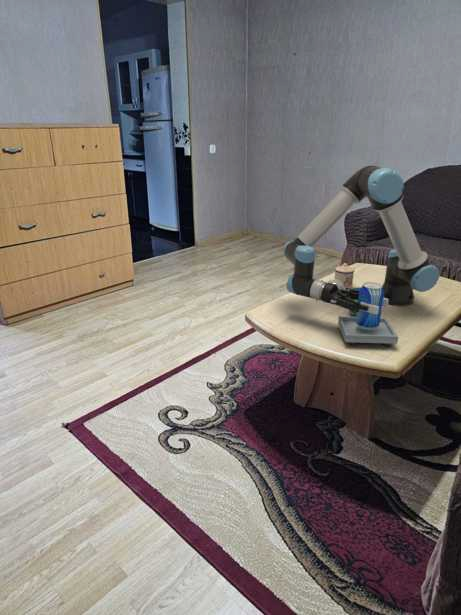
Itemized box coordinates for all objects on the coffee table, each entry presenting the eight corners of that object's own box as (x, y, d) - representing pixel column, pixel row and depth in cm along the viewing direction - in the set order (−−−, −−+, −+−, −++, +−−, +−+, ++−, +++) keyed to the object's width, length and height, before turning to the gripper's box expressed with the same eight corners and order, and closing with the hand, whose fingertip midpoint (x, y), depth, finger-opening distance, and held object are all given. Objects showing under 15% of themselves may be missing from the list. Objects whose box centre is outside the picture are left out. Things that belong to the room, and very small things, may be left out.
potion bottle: (341, 306, 193) (314, 300, 204) (352, 289, 196) (324, 285, 207) (334, 293, 187) (306, 287, 198) (345, 276, 191) (317, 272, 201)
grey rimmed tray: (384, 329, 168) (386, 317, 166) (396, 349, 154) (398, 336, 152) (337, 328, 170) (338, 316, 167) (344, 347, 155) (346, 335, 153)
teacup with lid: (344, 291, 206) (347, 267, 202) (329, 286, 212) (331, 263, 208) (359, 285, 213) (362, 262, 209) (344, 280, 220) (346, 258, 215)
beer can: (351, 321, 163) (356, 281, 157) (373, 320, 164) (379, 280, 157) (359, 331, 155) (365, 289, 149) (382, 330, 156) (389, 289, 150)
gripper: (336, 293, 175) (392, 307, 162) (310, 309, 160) (369, 326, 147) (338, 275, 172) (395, 288, 159) (312, 290, 157) (372, 305, 144)
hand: (383, 306), depth 153 cm, fingers closed on beer can, 8 cm apart
